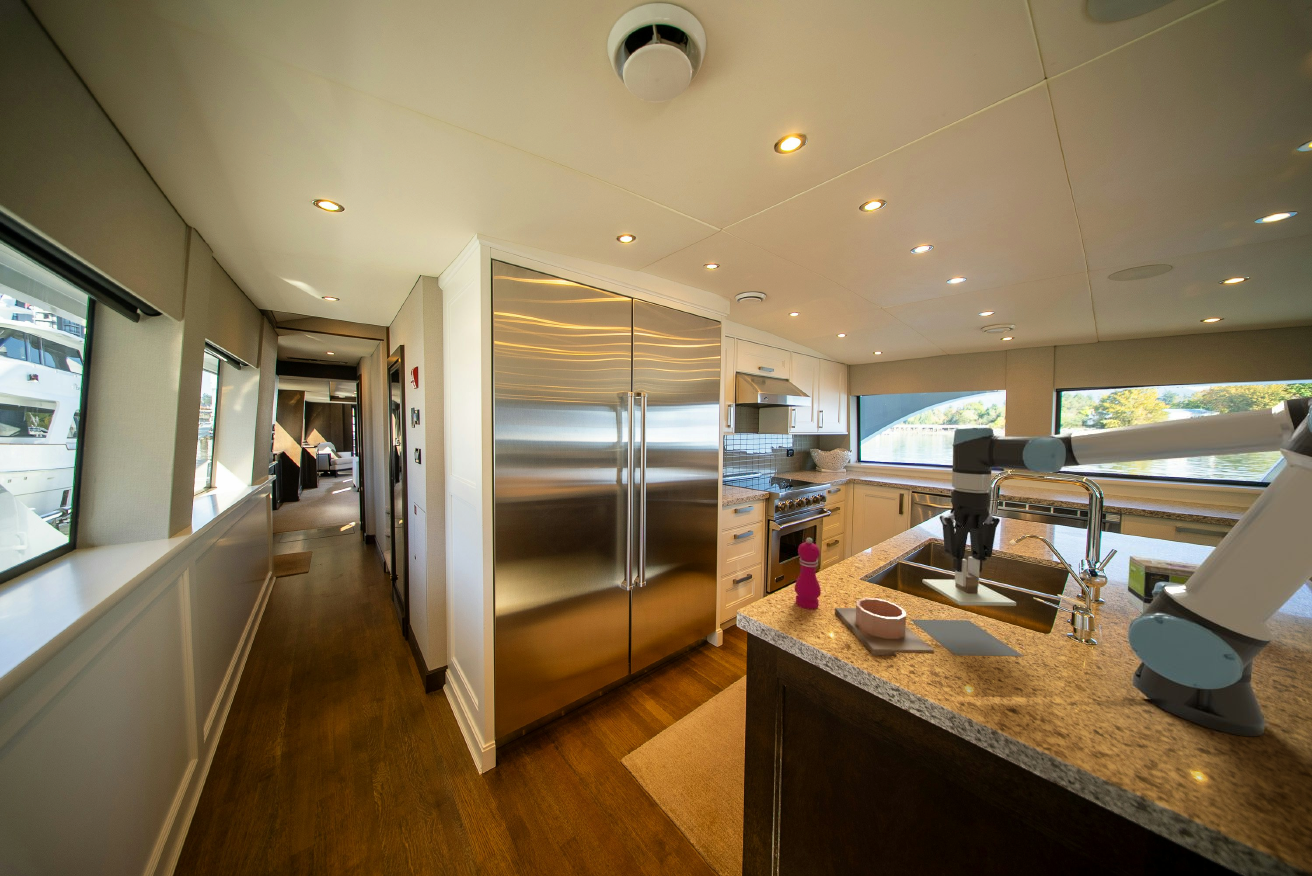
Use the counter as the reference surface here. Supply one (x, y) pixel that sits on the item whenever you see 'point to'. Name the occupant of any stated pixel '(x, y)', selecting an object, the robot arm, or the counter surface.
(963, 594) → the lid
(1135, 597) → the tea box
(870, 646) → the board
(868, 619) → the bowl
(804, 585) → the pepper mill
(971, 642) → the mat
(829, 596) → the counter surface
